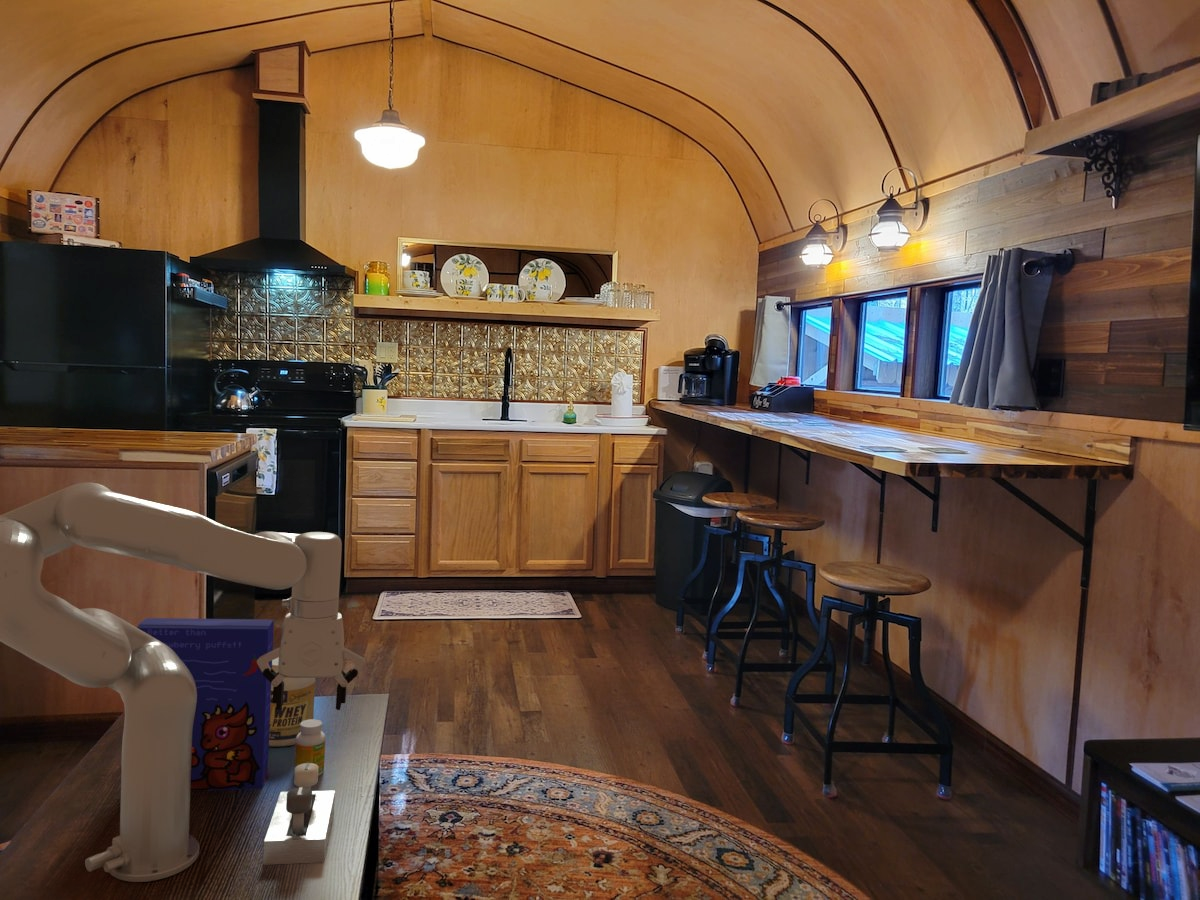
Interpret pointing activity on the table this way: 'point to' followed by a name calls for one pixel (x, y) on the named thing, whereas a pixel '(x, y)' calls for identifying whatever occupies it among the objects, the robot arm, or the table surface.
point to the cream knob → (306, 775)
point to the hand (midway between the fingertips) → (309, 707)
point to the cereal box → (224, 696)
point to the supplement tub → (291, 709)
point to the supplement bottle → (310, 744)
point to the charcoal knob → (298, 806)
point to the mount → (299, 848)
